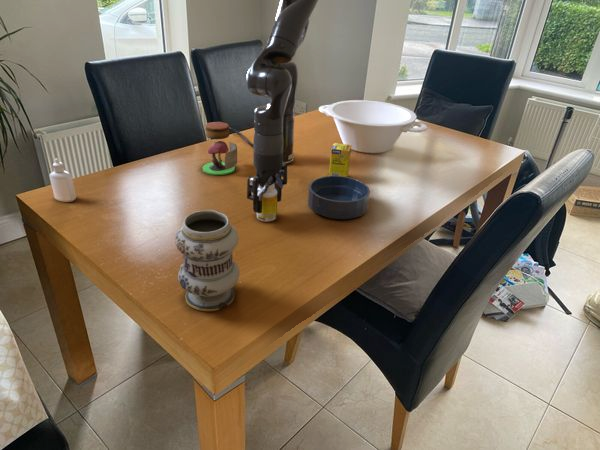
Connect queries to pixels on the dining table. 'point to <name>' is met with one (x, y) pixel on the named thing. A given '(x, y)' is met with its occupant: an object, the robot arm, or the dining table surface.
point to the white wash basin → (371, 124)
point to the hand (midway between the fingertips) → (267, 206)
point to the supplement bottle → (268, 204)
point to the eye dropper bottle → (62, 183)
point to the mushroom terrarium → (220, 150)
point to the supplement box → (340, 160)
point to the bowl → (338, 197)
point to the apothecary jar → (207, 260)
